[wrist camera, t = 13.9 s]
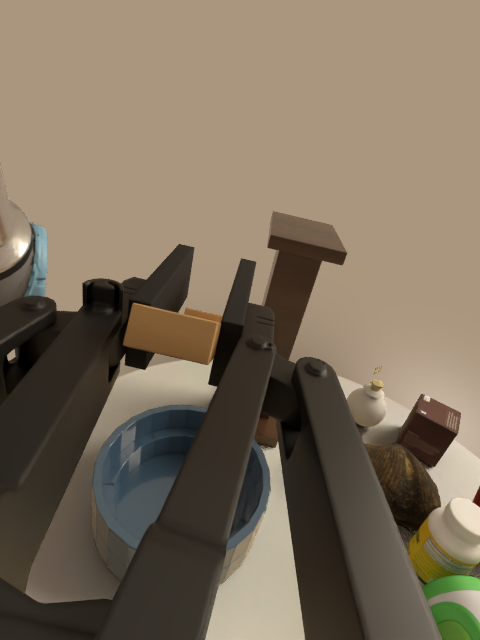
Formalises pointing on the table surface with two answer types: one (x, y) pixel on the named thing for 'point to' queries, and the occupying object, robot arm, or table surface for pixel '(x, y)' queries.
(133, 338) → the wooden mallet
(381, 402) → the potion bottle
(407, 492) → the seashell
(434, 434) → the box
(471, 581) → the speaker
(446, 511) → the supplement bottle
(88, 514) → the table surface
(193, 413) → the bowl
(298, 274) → the spoon stand
